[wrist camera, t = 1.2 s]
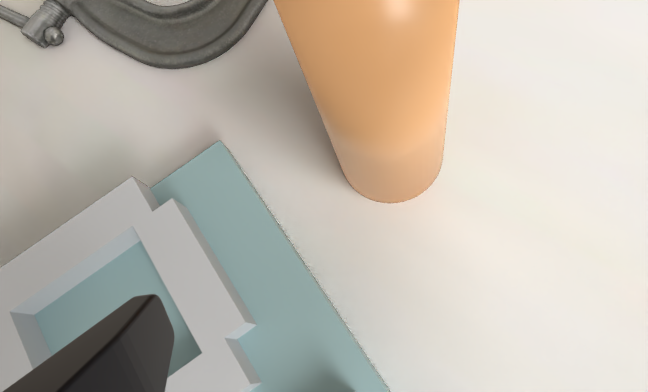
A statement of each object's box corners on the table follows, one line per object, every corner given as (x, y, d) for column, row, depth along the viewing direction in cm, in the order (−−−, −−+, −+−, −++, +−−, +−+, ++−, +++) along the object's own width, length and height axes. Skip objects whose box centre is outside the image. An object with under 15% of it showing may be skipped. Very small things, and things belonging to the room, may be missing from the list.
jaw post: (464, 162, 23) (514, -72, 11) (379, 223, 23) (330, 57, 10) (401, 91, 25) (381, -187, 12) (321, 146, 25) (219, -77, 12)
